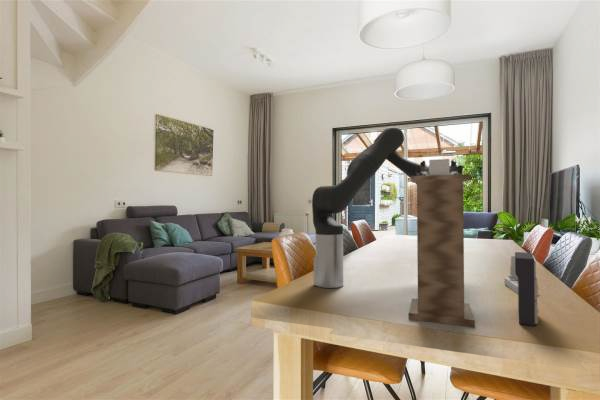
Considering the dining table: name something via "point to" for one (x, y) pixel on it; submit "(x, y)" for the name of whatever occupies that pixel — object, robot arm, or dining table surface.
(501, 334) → the dining table surface
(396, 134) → the robot arm
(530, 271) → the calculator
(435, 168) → the white cylinder with crossbar
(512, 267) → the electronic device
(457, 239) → the wooden pedestal stand
